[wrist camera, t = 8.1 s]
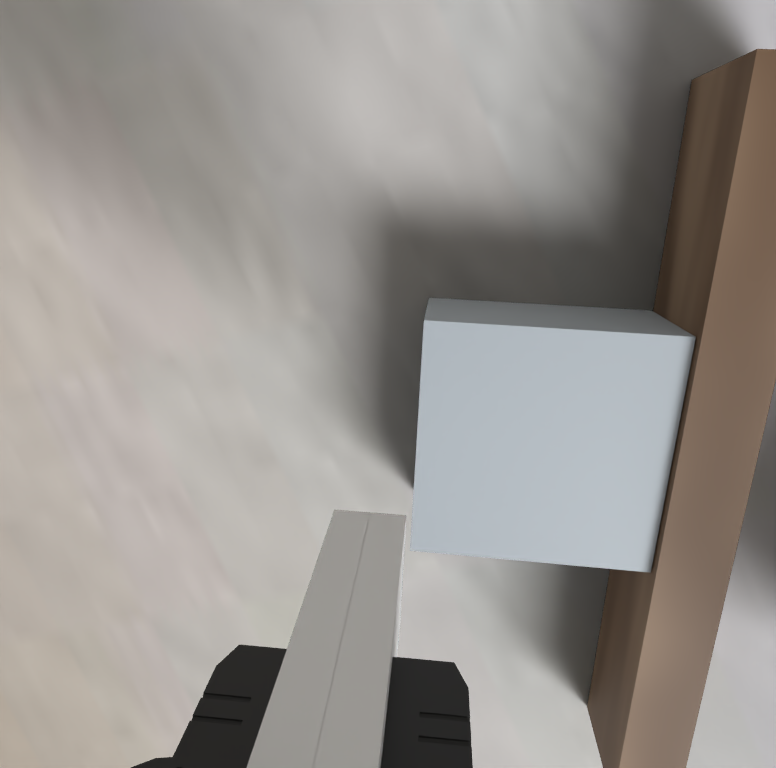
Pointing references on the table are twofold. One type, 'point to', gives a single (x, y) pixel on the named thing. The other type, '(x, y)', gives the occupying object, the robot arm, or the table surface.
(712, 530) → the board
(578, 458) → the block
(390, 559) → the robot arm
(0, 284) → the table surface
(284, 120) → the table surface
